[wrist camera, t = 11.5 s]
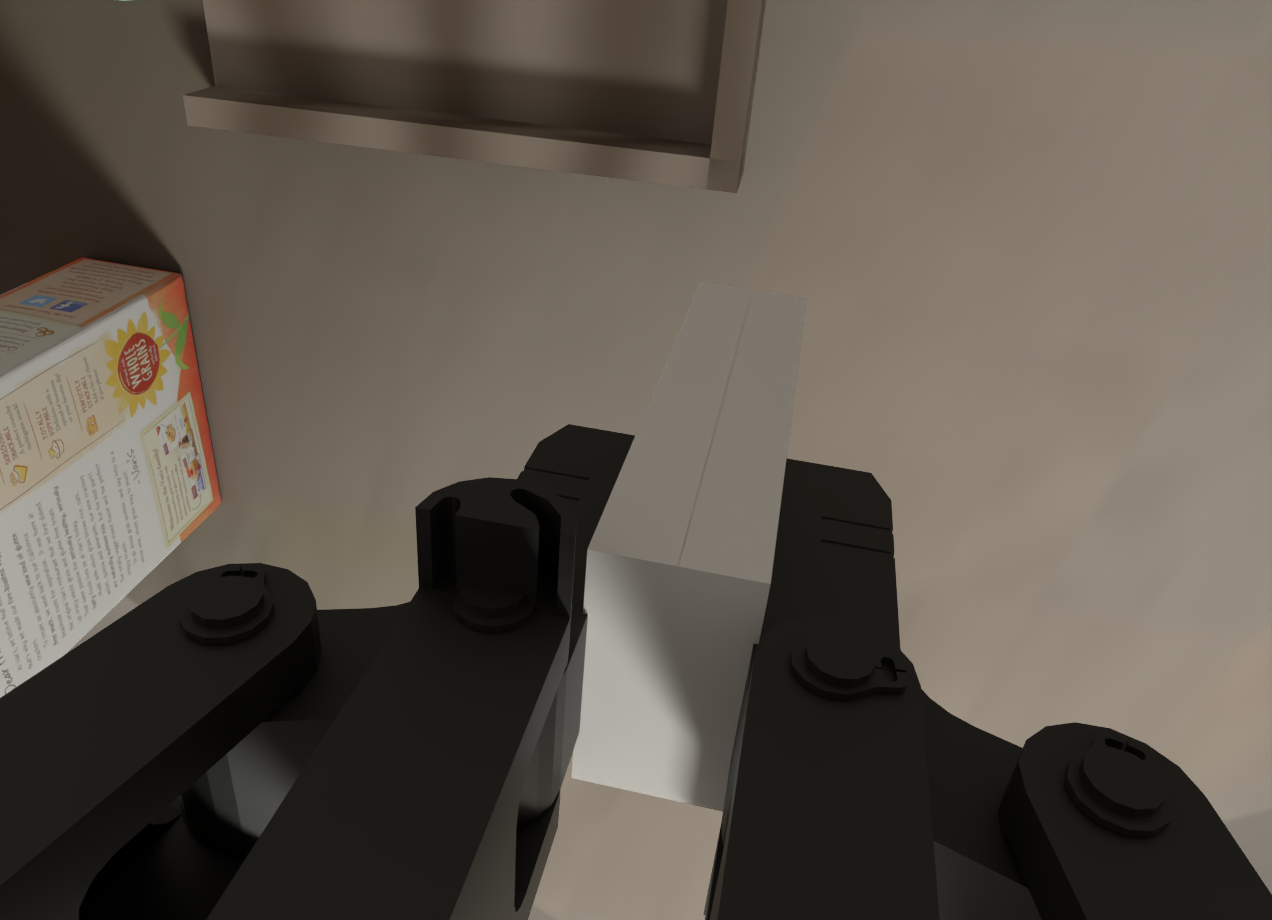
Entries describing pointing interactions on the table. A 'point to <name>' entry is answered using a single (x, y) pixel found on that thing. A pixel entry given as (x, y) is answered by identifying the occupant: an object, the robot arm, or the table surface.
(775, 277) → the table surface
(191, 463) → the cracker box
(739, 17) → the slide box
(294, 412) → the table surface
